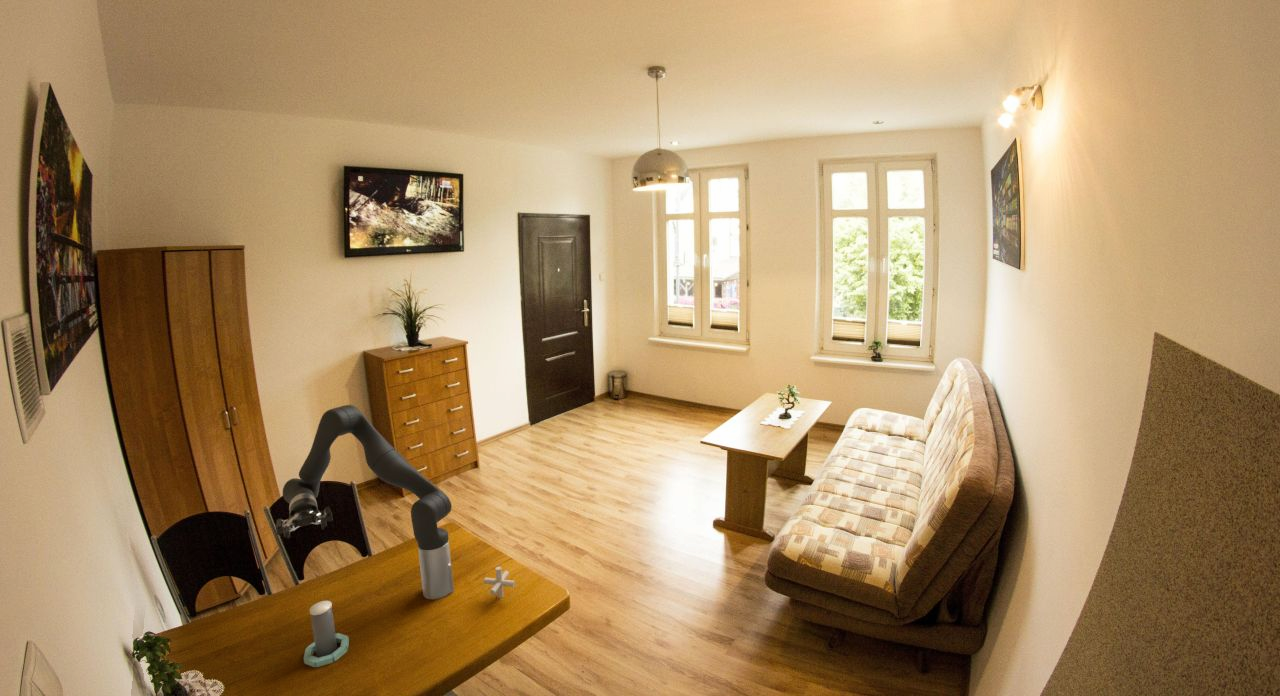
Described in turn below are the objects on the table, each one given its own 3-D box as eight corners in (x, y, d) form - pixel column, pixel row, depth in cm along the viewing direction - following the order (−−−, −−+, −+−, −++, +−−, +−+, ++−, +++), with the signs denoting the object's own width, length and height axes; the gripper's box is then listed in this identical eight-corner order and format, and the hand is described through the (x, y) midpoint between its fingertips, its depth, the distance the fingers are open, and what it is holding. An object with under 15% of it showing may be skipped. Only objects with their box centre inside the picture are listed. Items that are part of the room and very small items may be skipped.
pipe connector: (508, 608, 162) (506, 579, 160) (478, 604, 164) (476, 576, 162) (521, 588, 171) (519, 560, 170) (493, 585, 173) (491, 557, 172)
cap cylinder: (338, 642, 149) (332, 598, 146) (336, 655, 144) (330, 609, 142) (317, 648, 147) (311, 604, 144) (314, 661, 142) (308, 615, 140)
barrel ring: (349, 634, 152) (349, 629, 152) (346, 658, 143) (346, 653, 143) (308, 645, 148) (307, 640, 148) (302, 671, 139) (301, 666, 138)
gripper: (274, 504, 161) (274, 526, 147) (327, 491, 169) (332, 511, 155) (278, 526, 162) (278, 550, 149) (330, 513, 170) (335, 534, 157)
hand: (305, 530), depth 152 cm, fingers open, 8 cm apart
